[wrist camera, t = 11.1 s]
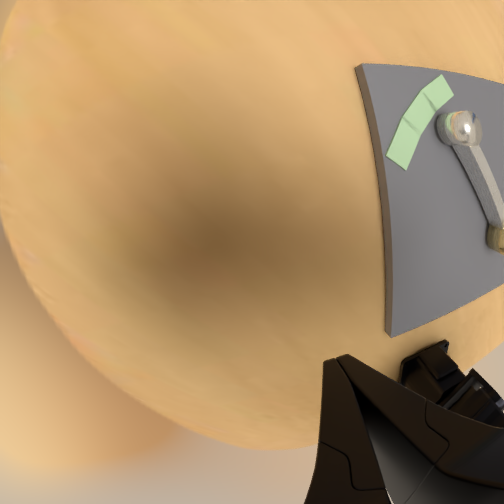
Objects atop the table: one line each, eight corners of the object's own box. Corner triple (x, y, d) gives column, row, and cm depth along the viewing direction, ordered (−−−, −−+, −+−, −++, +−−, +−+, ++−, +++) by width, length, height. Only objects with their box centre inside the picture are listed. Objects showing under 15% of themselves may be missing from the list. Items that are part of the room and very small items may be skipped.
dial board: (522, 264, 23) (529, 267, 22) (385, 331, 23) (391, 339, 22) (516, 91, 16) (524, 90, 15) (354, 68, 16) (362, 62, 14)
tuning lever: (508, 231, 19) (526, 239, 17) (492, 257, 20) (511, 266, 17) (448, 103, 15) (472, 100, 13) (429, 128, 16) (453, 127, 13)
